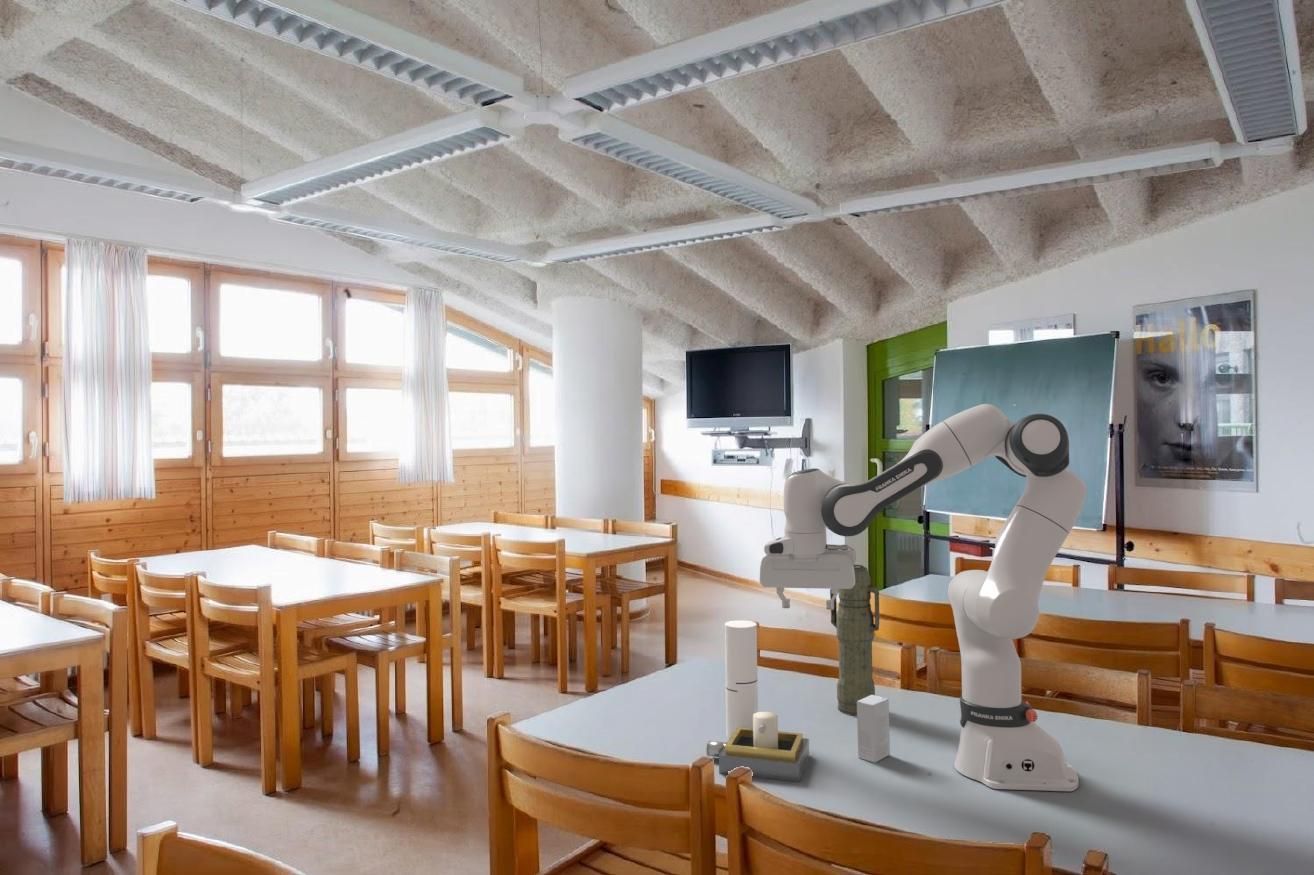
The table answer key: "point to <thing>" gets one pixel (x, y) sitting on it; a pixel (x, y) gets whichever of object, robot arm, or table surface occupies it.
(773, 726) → the spout can
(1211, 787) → the table surface
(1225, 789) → the table surface
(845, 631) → the thermos
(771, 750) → the box
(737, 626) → the cylindrical container
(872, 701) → the skincare box
